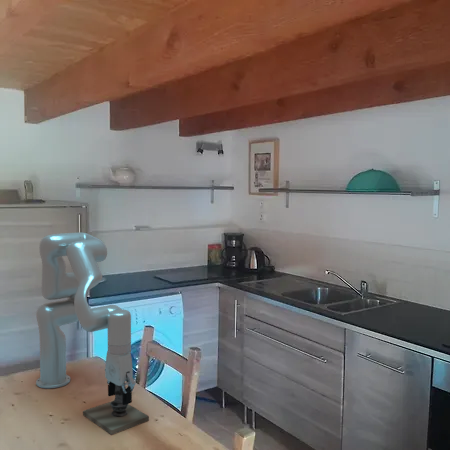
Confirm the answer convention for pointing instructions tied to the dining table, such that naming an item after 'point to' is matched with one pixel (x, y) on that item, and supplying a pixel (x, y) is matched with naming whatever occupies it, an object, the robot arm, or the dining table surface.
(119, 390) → the dark grey chess piece
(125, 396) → the robot arm
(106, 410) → the serving board
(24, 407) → the dining table surface
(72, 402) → the dining table surface
